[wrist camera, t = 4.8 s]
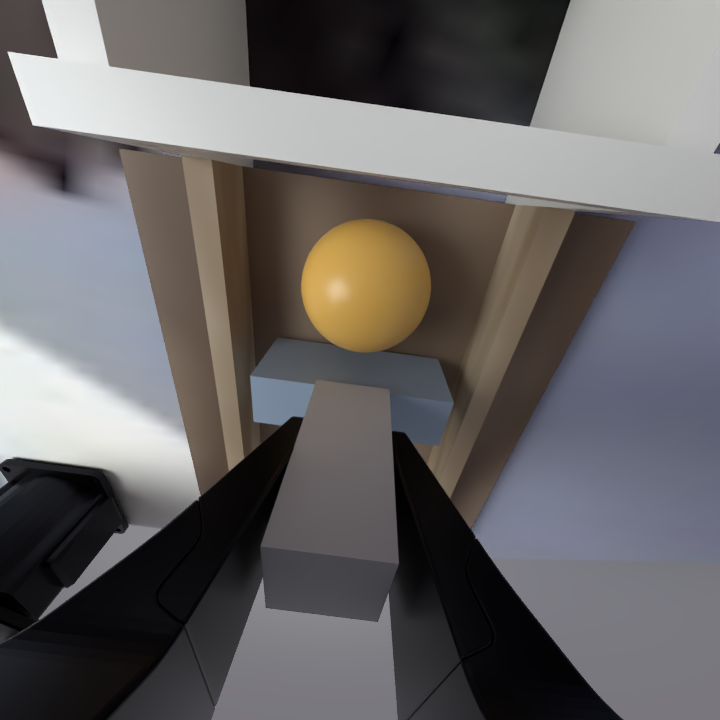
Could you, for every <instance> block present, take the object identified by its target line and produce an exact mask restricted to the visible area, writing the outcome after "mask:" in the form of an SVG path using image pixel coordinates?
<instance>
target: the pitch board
mask: <svg viewBox="0 0 720 720" xmlns="http://www.w3.org/2000/svg"><path fill="white" fill-rule="evenodd" d="M119 151H120V155H121V160H122V164H123V168H124V172H125V176H126V181H127V185H128V189H129V193H130V198H131V202H132V206H133V210H134V215H135V219H136V223H137V227H138V232H139V236H140V240H141V244H142V248H143V253H144V257H145V261H146V265H147V270H148V274H149V278H150V282H151V287H152V291H153V295H154V299H155V304H156V308H157V312H158V316H159V320H160V325H161V329H162V333H163V337H164V342H165V346H166V350H167V354H168V359H169V363H170V367H171V371H172V376H173V380H174V384H175V388H176V393H177V397H178V401H179V405H180V409H181V414H182V418H183V422H184V426H185V431H186V435H187V439H188V443H189V448H190V452H191V456H192V460H193V465H194V469H195V473H196V477H197V481H198V486H199V490H200V494H201V495H203V494H204V493H205V492H206V491H207V490H208V489H209V488H211V487H212V486H213V485H214V484H215V483H216V482H218V481H219V480H220V479H221V478H222V477H223V476H224V475H226V474H227V473H228V472H229V471H230V470H231V469H232V468H234V467H235V466H236V465H237V464H238V463H239V462H240V461H242V460H243V459H244V458H245V457H246V456H247V455H248V454H250V453H251V452H252V451H253V450H254V449H255V448H256V447H258V446H259V445H260V444H261V443H262V442H263V441H264V440H266V439H267V438H268V437H269V436H270V435H271V434H272V433H274V432H275V431H276V430H277V429H278V428H279V427H280V426H282V425H274V424H267V423H259V422H254V419H253V407H252V394H251V381H250V375H251V374H252V372H253V371H254V370H255V368H256V367H257V365H258V364H259V363H260V361H261V360H262V358H263V357H264V356H265V354H266V353H267V351H268V350H269V349H270V347H271V346H272V344H273V343H274V342H275V340H276V339H277V337H279V338H287V339H294V340H301V341H309V342H316V343H324V344H331V345H335V344H333V343H331V342H330V341H328V340H327V339H326V338H325V337H324V336H322V335H321V334H320V332H319V331H318V330H317V329H316V328H315V327H314V325H313V324H312V322H311V321H310V319H309V317H308V315H307V313H306V310H305V307H304V304H303V299H302V293H301V281H302V272H303V269H304V265H305V262H306V260H307V258H308V255H309V253H310V252H311V250H312V248H313V247H314V245H315V244H316V243H317V242H318V241H319V239H320V238H321V237H322V236H323V235H325V234H326V233H327V232H328V231H330V230H331V229H333V228H334V227H336V226H338V225H340V224H343V223H345V222H348V221H352V220H357V219H376V220H381V221H385V222H388V223H390V224H393V225H395V226H397V227H399V228H400V229H402V230H403V231H405V232H406V233H407V234H408V235H409V236H410V237H411V238H413V240H414V241H415V242H416V243H417V244H418V246H419V247H420V249H421V250H422V252H423V254H424V256H425V258H426V261H427V263H428V267H429V270H430V277H431V294H430V300H429V304H428V307H427V310H426V313H425V315H424V317H423V319H422V321H421V322H420V324H419V325H418V327H417V328H416V329H415V330H414V331H413V332H412V333H411V335H409V336H408V337H407V338H406V339H405V340H403V341H402V342H400V343H399V344H397V345H395V346H393V347H391V348H389V349H386V350H382V351H383V352H390V353H398V354H405V355H413V356H420V357H428V358H435V359H438V360H439V363H440V366H441V368H442V371H443V374H444V377H445V380H446V382H447V385H448V388H449V391H450V393H451V396H452V399H453V402H454V404H453V407H452V410H451V413H450V416H449V418H448V421H447V424H446V427H445V430H444V433H443V435H442V438H441V441H440V444H439V446H434V445H427V444H419V443H413V445H414V446H415V448H416V449H417V450H418V452H419V453H420V455H421V456H422V458H423V459H424V461H425V462H426V464H427V465H428V467H429V468H430V470H431V471H432V473H433V474H434V476H435V477H436V479H437V480H438V482H439V483H440V485H441V486H442V487H443V489H444V490H445V492H446V493H447V495H448V496H449V498H450V499H451V501H452V502H453V504H454V505H455V507H456V508H457V510H458V511H459V513H460V514H461V516H462V517H463V519H464V520H465V522H466V523H467V524H468V526H469V527H470V529H471V527H472V525H473V523H474V522H475V520H476V518H477V516H478V514H479V512H480V510H481V509H482V507H483V505H484V503H485V501H486V499H487V497H488V496H489V494H490V492H491V490H492V488H493V486H494V484H495V483H496V481H497V479H498V477H499V475H500V473H501V471H502V469H503V468H504V466H505V464H506V462H507V460H508V458H509V456H510V455H511V453H512V451H513V449H514V447H515V445H516V443H517V442H518V440H519V438H520V436H521V434H522V432H523V430H524V429H525V427H526V425H527V423H528V421H529V419H530V417H531V416H532V414H533V412H534V410H535V408H536V406H537V404H538V402H539V401H540V399H541V397H542V395H543V393H544V391H545V389H546V388H547V386H548V384H549V382H550V380H551V378H552V376H553V375H554V373H555V371H556V369H557V367H558V365H559V363H560V362H561V360H562V358H563V356H564V354H565V352H566V350H567V348H568V347H569V345H570V343H571V341H572V339H573V337H574V335H575V334H576V332H577V330H578V328H579V326H580V324H581V322H582V321H583V319H584V317H585V315H586V313H587V311H588V309H589V308H590V306H591V304H592V302H593V300H594V298H595V296H596V295H597V293H598V291H599V289H600V287H601V285H602V283H603V281H604V280H605V278H606V276H607V274H608V272H609V270H610V268H611V267H612V265H613V263H614V261H615V259H616V257H617V255H618V254H619V252H620V250H621V248H622V246H623V244H624V242H625V241H626V239H627V237H628V235H629V233H630V231H631V229H632V228H633V226H634V224H635V221H628V220H621V219H614V218H606V217H599V216H592V215H585V214H578V213H575V212H576V211H573V210H566V209H558V208H551V207H542V206H527V205H514V204H507V203H500V202H493V201H486V200H479V199H472V198H465V197H457V196H450V195H443V194H436V193H429V192H422V191H415V190H408V189H401V188H394V187H386V186H379V185H372V184H365V183H358V182H351V181H344V180H337V179H330V178H323V177H316V176H308V175H301V174H294V173H287V172H280V171H273V170H266V169H259V168H252V167H245V166H239V165H234V164H230V163H225V162H221V161H216V160H211V159H204V158H197V157H190V156H183V155H181V156H182V158H181V157H174V156H167V155H159V154H152V153H145V152H138V151H131V150H124V149H119Z"/></svg>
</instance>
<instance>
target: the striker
mask: <svg viewBox="0 0 720 720" xmlns="http://www.w3.org/2000/svg"><path fill="white" fill-rule="evenodd" d="M250 381H251V394H252V407H253V419H254V422H259V423H267V424H274V425H283V424H284V423H285V422H286V421H287V420H288V419H290V418H291V417H292V416H297V417H304V419H303V422H302V425H301V428H300V431H299V434H298V436H297V439H296V442H295V445H294V449H293V452H292V455H291V457H290V460H289V463H288V466H287V469H286V472H285V475H284V478H283V481H282V484H281V487H280V490H279V493H278V496H277V499H276V502H275V505H274V508H273V511H272V513H271V516H270V519H269V522H268V525H267V528H266V531H265V534H264V537H263V540H262V543H261V546H260V547H261V558H262V570H263V581H264V592H265V603H266V608H271V609H279V610H287V611H296V612H303V613H311V614H319V615H327V616H335V617H343V618H351V619H360V620H367V621H375V622H378V620H379V617H380V614H381V611H382V609H383V606H384V603H385V601H386V598H387V595H388V592H389V590H390V587H391V584H392V581H393V579H394V576H395V573H396V570H397V568H398V565H399V557H398V539H397V520H396V502H395V483H394V465H393V447H392V431H399V432H404V433H406V434H407V436H408V437H409V439H410V440H411V442H412V443H419V444H427V445H434V446H439V444H440V441H441V438H442V435H443V433H444V430H445V427H446V424H447V421H448V418H449V416H450V413H451V410H452V407H453V404H454V402H453V399H452V396H451V393H450V391H449V388H448V385H447V382H446V380H445V377H444V374H443V371H442V368H441V366H440V363H439V360H438V359H435V358H428V357H420V356H413V355H405V354H398V353H390V352H383V351H378V352H370V353H360V352H353V351H349V350H346V349H343V348H341V347H338V346H337V345H331V344H324V343H316V342H309V341H301V340H294V339H287V338H279V337H277V339H276V340H275V342H274V343H273V344H272V346H271V347H270V349H269V350H268V351H267V353H266V354H265V356H264V357H263V358H262V360H261V361H260V363H259V364H258V365H257V367H256V368H255V370H254V371H253V372H252V374H251V375H250Z"/></svg>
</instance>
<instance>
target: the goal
mask: <svg viewBox="0 0 720 720" xmlns="http://www.w3.org/2000/svg"><path fill="white" fill-rule="evenodd" d="M42 3H43V6H44V10H45V13H46V17H47V20H48V24H49V27H50V31H51V34H52V38H53V41H54V45H55V48H56V52H57V55H58V59H55V58H48V57H41V56H34V55H27V54H20V53H13V52H8V55H9V57H10V60H11V63H12V66H13V69H14V72H15V75H16V78H17V81H18V84H19V86H20V89H21V92H22V95H23V98H24V101H25V104H26V107H27V110H28V113H29V116H30V118H31V121H32V124H33V125H35V126H40V127H44V128H49V129H54V130H59V131H64V132H69V133H74V134H79V135H84V136H89V137H94V138H99V139H103V140H108V141H113V142H118V143H123V144H128V145H133V146H138V147H143V148H148V149H153V150H158V151H163V152H167V153H172V154H177V155H183V156H190V157H197V158H204V159H211V160H216V161H221V162H225V163H230V164H234V165H239V166H245V167H252V168H254V161H253V159H255V160H262V161H269V162H277V163H284V164H291V165H298V166H305V167H312V168H319V169H326V170H333V171H340V172H347V173H354V174H361V175H369V176H376V177H383V178H390V179H397V180H404V181H411V182H418V183H425V184H432V185H439V186H446V187H454V188H461V189H468V190H475V191H482V192H489V193H496V194H503V195H507V198H506V201H505V203H507V204H514V205H527V206H542V207H551V208H558V209H566V210H573V211H583V212H596V213H608V214H621V215H634V216H646V217H659V218H672V219H684V220H697V221H710V222H720V154H714V151H715V150H716V148H717V146H718V145H719V143H720V0H571V1H570V4H569V7H568V10H567V13H566V16H565V19H564V22H563V25H562V28H561V32H560V35H559V38H558V41H557V44H556V47H555V50H554V53H553V56H552V59H551V62H550V65H549V68H548V72H547V75H546V78H545V81H544V84H543V87H542V90H541V93H540V96H539V99H538V102H537V105H536V108H535V112H534V115H533V118H532V121H531V124H530V127H527V126H520V125H513V124H506V123H499V122H492V121H485V120H478V119H471V118H464V117H457V116H450V115H444V114H437V113H430V112H423V111H416V110H409V109H402V108H395V107H388V106H381V105H374V104H367V103H360V102H353V101H346V100H339V99H332V98H325V97H319V96H312V95H305V94H298V93H291V92H284V91H277V90H270V89H263V88H256V87H250V81H249V61H248V41H247V21H246V1H245V0H42Z"/></svg>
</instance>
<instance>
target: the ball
mask: <svg viewBox="0 0 720 720" xmlns="http://www.w3.org/2000/svg"><path fill="white" fill-rule="evenodd" d="M301 293H302V299H303V304H304V307H305V310H306V313H307V315H308V317H309V319H310V321H311V322H312V324H313V325H314V327H315V328H316V329H317V330H318V331H319V332H320V334H321V335H322V336H324V337H325V338H326V339H327V340H328V341H330V342H331V343H333V344H335V345H337V346H338V347H341V348H343V349H346V350H349V351H353V352H360V353H370V352H378V351H382V350H386V349H389V348H391V347H393V346H395V345H397V344H399V343H400V342H402V341H403V340H405V339H406V338H407V337H408V336H409V335H411V333H412V332H413V331H414V330H415V329H416V328H417V327H418V325H419V324H420V322H421V321H422V319H423V317H424V315H425V313H426V310H427V307H428V304H429V300H430V294H431V277H430V270H429V267H428V263H427V261H426V258H425V256H424V254H423V252H422V250H421V249H420V247H419V246H418V244H417V243H416V242H415V241H414V240H413V238H411V237H410V236H409V235H408V234H407V233H406V232H405V231H403V230H402V229H400V228H399V227H397V226H395V225H393V224H390V223H388V222H385V221H381V220H376V219H357V220H352V221H348V222H345V223H343V224H340V225H338V226H336V227H334V228H333V229H331V230H330V231H328V232H327V233H326V234H325V235H323V236H322V237H321V238H320V239H319V241H318V242H317V243H316V244H315V245H314V247H313V248H312V250H311V252H310V253H309V255H308V258H307V260H306V262H305V265H304V269H303V272H302V281H301Z"/></svg>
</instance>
